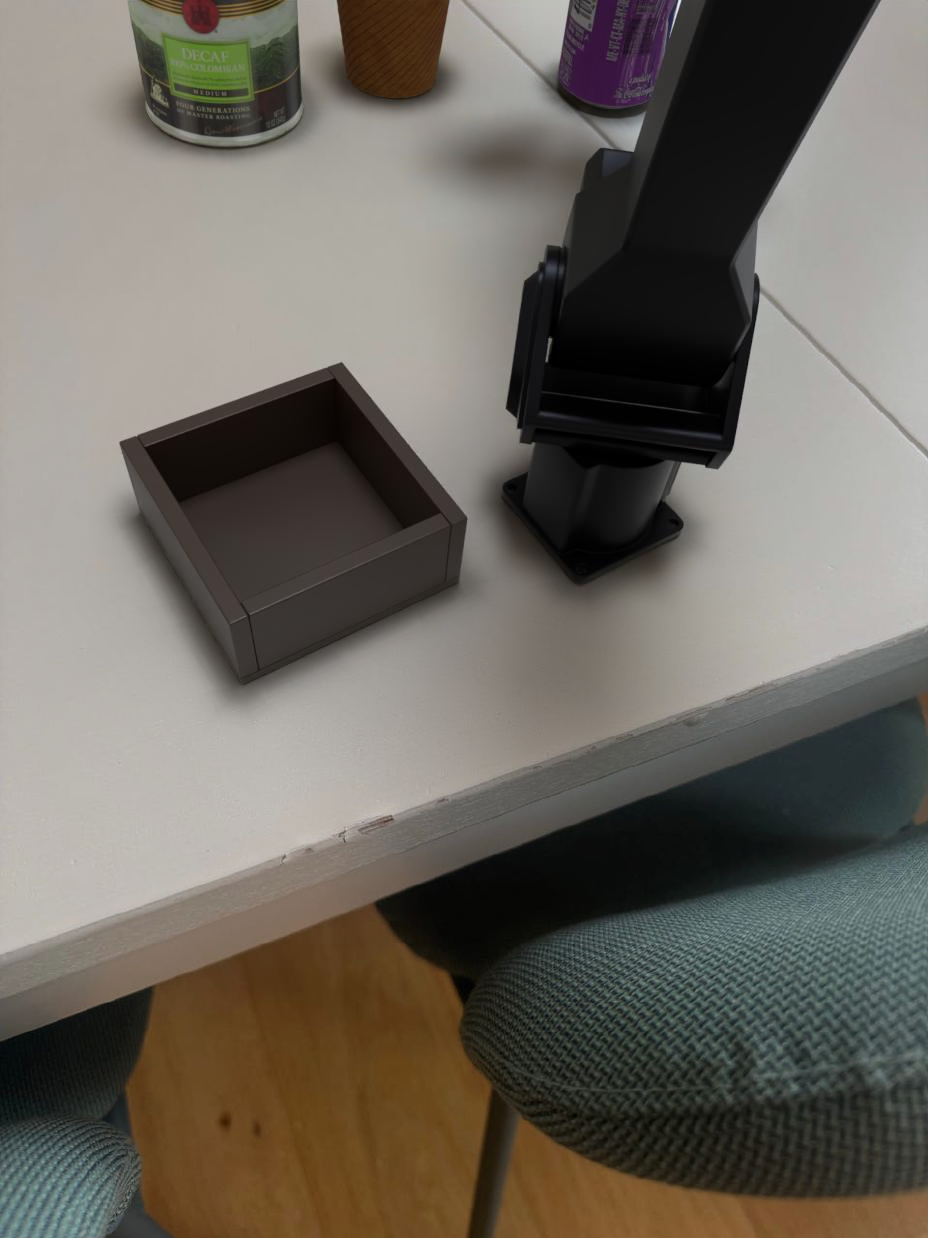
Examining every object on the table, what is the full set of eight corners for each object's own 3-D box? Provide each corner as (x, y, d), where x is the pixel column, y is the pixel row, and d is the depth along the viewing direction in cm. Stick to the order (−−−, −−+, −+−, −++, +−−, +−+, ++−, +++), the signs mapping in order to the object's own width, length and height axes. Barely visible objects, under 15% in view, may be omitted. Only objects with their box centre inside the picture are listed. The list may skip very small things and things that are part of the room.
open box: (242, 685, 39) (229, 624, 35) (139, 511, 43) (118, 441, 40) (459, 582, 43) (468, 517, 39) (344, 431, 47) (341, 361, 44)
